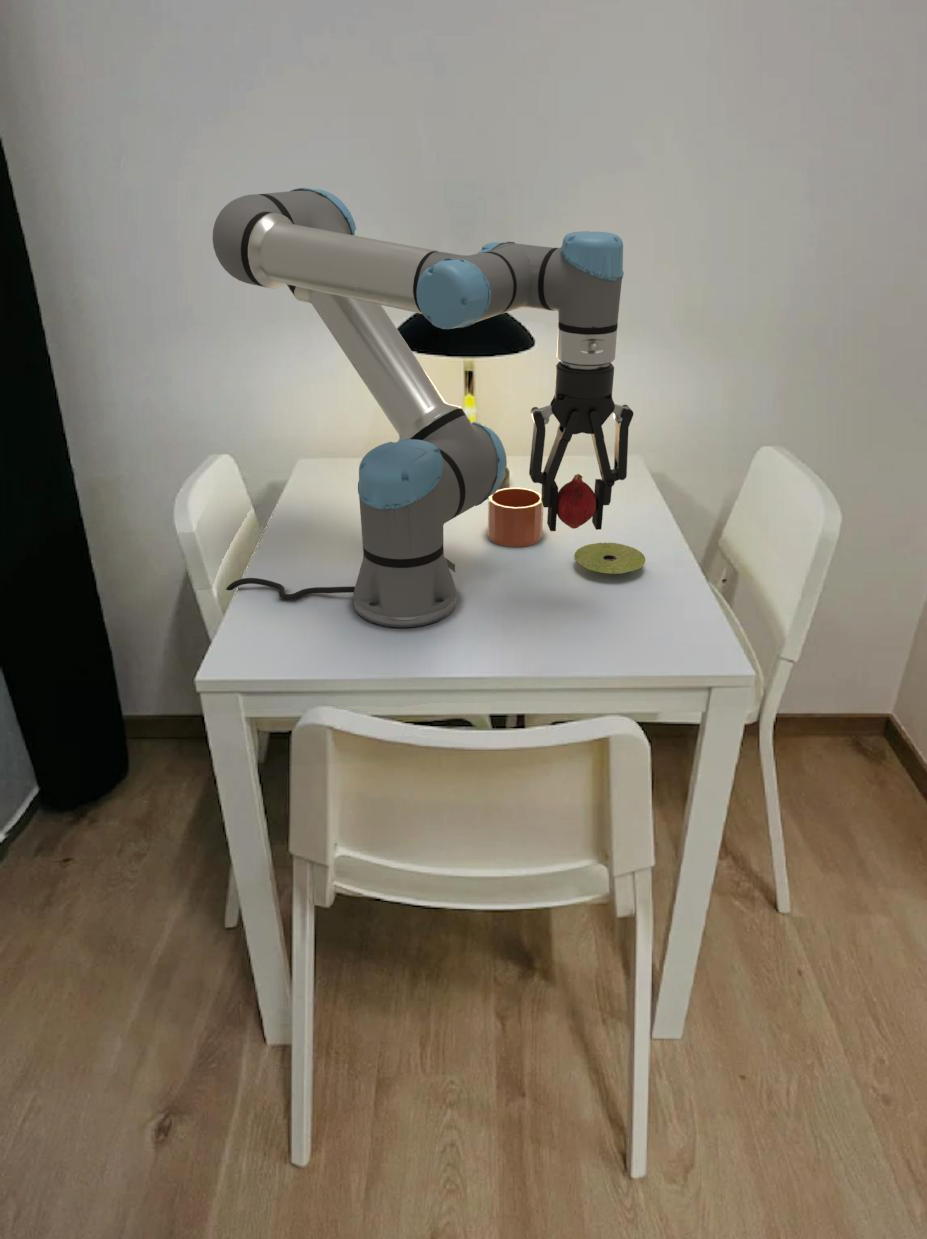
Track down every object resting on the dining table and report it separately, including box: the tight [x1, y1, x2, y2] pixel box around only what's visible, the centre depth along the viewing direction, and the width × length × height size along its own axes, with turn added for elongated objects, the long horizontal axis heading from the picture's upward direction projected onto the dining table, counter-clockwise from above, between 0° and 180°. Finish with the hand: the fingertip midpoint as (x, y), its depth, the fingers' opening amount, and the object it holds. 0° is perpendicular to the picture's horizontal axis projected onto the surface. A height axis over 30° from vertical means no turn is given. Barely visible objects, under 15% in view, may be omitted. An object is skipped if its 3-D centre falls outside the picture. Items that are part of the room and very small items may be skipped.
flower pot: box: [487, 487, 544, 548], centre depth 155 cm, size 9×9×7 cm
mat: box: [573, 542, 646, 575], centre depth 146 cm, size 11×11×2 cm
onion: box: [557, 473, 596, 530], centre depth 128 cm, size 6×6×8 cm
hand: (574, 526), depth 130 cm, fingers closed on onion, 6 cm apart
